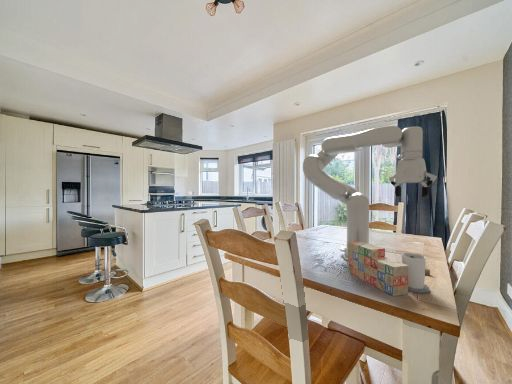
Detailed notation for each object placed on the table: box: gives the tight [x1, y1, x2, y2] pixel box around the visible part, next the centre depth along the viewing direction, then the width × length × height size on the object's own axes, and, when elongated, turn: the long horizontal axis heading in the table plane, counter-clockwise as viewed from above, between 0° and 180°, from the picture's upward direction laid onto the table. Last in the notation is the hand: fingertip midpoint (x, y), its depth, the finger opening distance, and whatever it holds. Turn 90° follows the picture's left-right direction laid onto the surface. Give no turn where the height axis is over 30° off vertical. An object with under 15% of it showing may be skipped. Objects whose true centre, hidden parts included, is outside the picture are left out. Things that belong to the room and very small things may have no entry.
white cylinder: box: [401, 252, 427, 289], centre depth 72 cm, size 7×7×10 cm
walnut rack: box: [397, 260, 431, 276], centre depth 85 cm, size 12×13×2 cm
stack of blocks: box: [347, 241, 409, 297], centre depth 77 cm, size 21×6×12 cm, turn 14°
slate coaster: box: [408, 283, 430, 295], centre depth 72 cm, size 9×9×1 cm
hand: (410, 196), depth 92 cm, fingers open, 9 cm apart
